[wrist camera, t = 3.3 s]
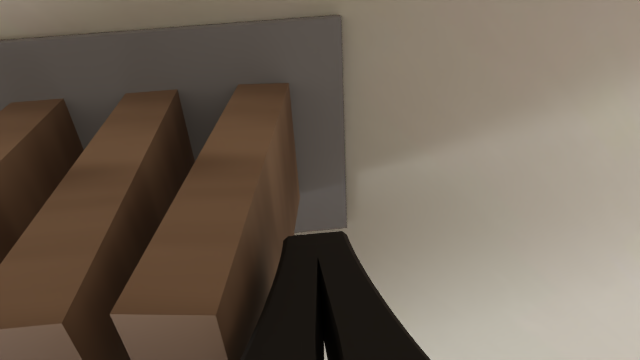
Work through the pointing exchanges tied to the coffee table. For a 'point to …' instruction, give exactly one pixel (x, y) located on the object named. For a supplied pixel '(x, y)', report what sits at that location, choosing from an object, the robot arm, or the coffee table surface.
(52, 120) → the walnut tile
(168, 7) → the coffee table surface
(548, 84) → the coffee table surface
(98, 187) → the walnut tile
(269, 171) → the walnut tile
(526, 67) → the coffee table surface
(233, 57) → the grey flat rectangular plate
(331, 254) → the robot arm
